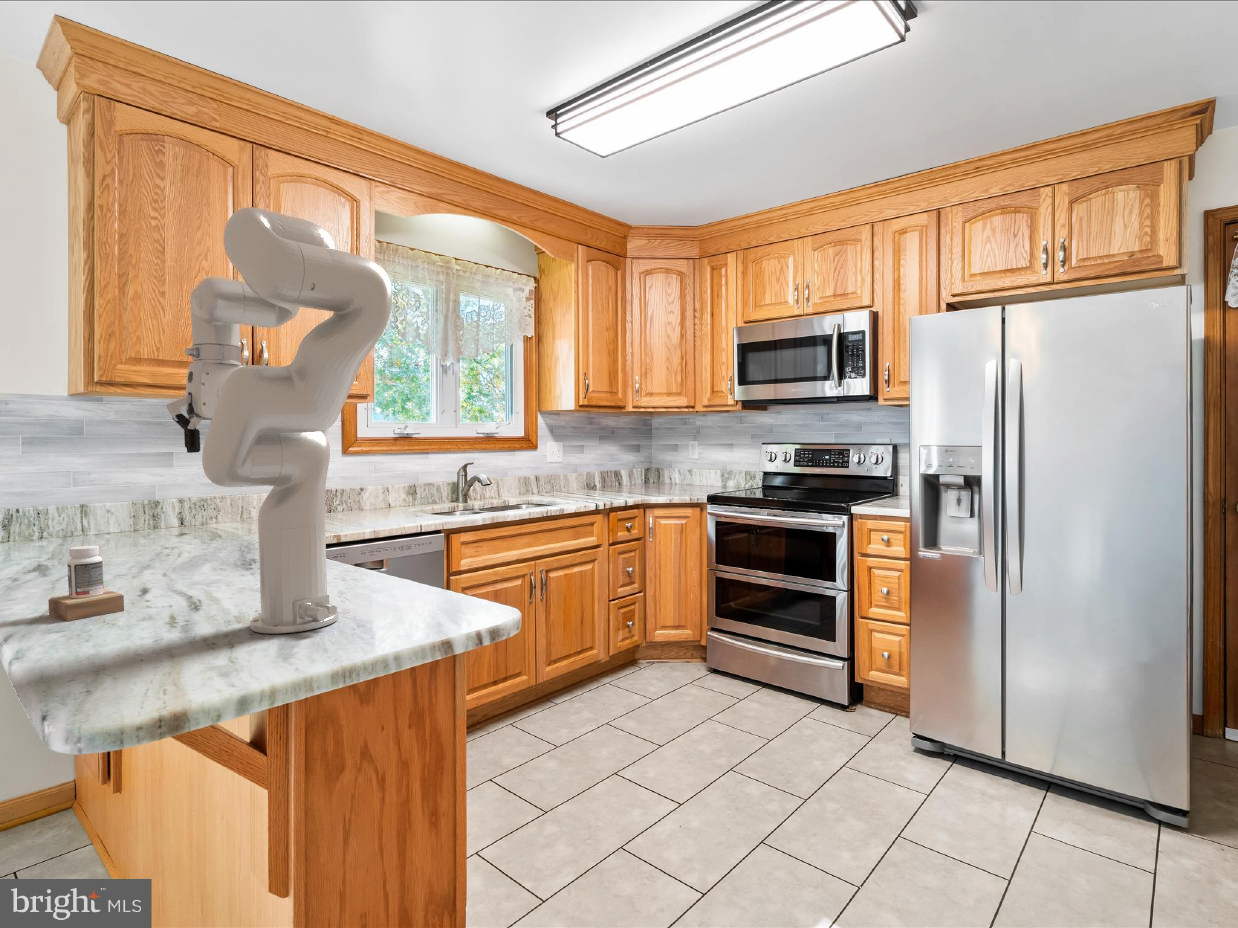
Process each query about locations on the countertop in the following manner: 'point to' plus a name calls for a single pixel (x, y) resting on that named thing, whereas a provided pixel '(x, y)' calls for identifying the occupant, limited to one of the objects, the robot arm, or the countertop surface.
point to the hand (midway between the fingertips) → (221, 451)
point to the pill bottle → (85, 572)
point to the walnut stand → (85, 606)
